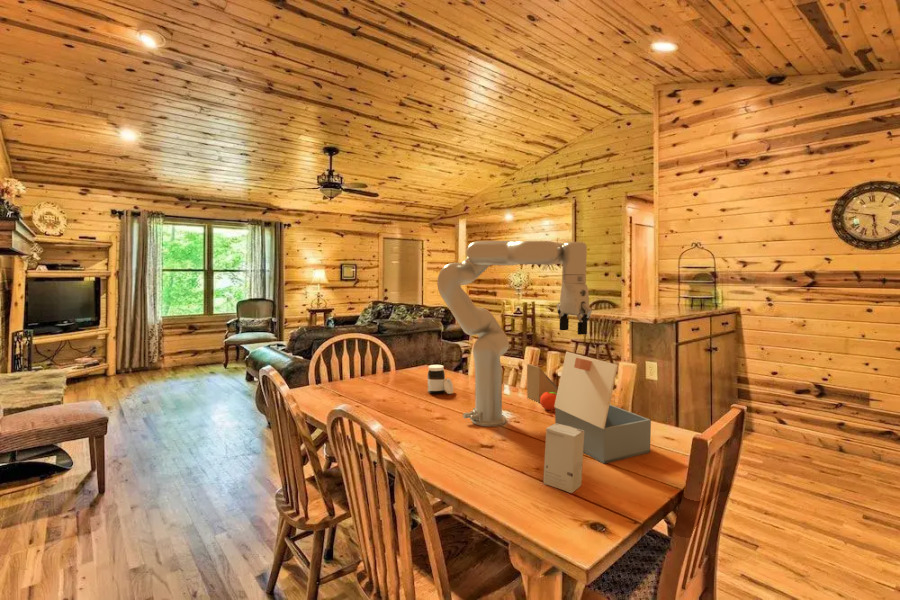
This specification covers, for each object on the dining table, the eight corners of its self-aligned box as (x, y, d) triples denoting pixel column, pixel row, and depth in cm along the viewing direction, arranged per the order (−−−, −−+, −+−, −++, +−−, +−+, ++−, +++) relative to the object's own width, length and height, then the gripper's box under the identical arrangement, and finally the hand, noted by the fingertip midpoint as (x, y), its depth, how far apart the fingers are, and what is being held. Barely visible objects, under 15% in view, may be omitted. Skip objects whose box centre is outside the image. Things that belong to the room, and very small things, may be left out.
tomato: (559, 407, 180) (559, 389, 179) (562, 412, 173) (562, 394, 172) (539, 406, 180) (539, 389, 180) (540, 412, 174) (541, 394, 173)
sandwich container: (568, 398, 191) (569, 363, 190) (539, 403, 184) (539, 367, 183) (555, 393, 199) (555, 359, 198) (526, 398, 192) (527, 363, 191)
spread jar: (427, 389, 207) (426, 364, 206) (451, 388, 209) (451, 363, 208) (428, 396, 195) (428, 370, 195) (454, 395, 197) (454, 369, 196)
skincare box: (543, 484, 117) (543, 428, 116) (554, 475, 121) (554, 421, 120) (573, 494, 111) (574, 435, 110) (584, 485, 116) (584, 428, 115)
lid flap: (604, 429, 127) (591, 427, 125) (555, 407, 147) (544, 405, 145) (618, 364, 128) (606, 362, 126) (567, 351, 148) (556, 349, 146)
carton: (603, 463, 128) (604, 429, 127) (555, 437, 148) (555, 407, 147) (650, 452, 136) (650, 419, 135) (598, 428, 156) (598, 400, 155)
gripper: (601, 281, 141) (599, 335, 143) (567, 279, 157) (566, 328, 159) (581, 281, 138) (579, 336, 140) (549, 279, 155) (548, 329, 156)
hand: (572, 332), depth 149 cm, fingers open, 9 cm apart
